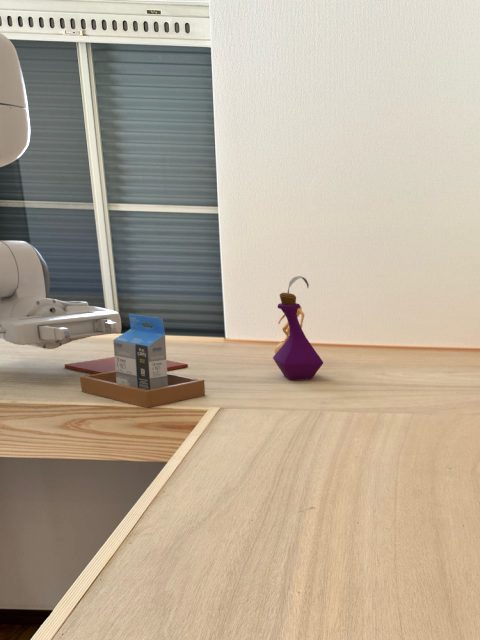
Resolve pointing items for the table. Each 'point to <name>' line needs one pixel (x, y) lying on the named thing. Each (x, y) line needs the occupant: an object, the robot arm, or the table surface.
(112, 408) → the table surface
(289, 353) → the perfume bottle
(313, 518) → the table surface
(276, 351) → the figurine
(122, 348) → the label tape box
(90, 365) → the rubber mat
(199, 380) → the frame
